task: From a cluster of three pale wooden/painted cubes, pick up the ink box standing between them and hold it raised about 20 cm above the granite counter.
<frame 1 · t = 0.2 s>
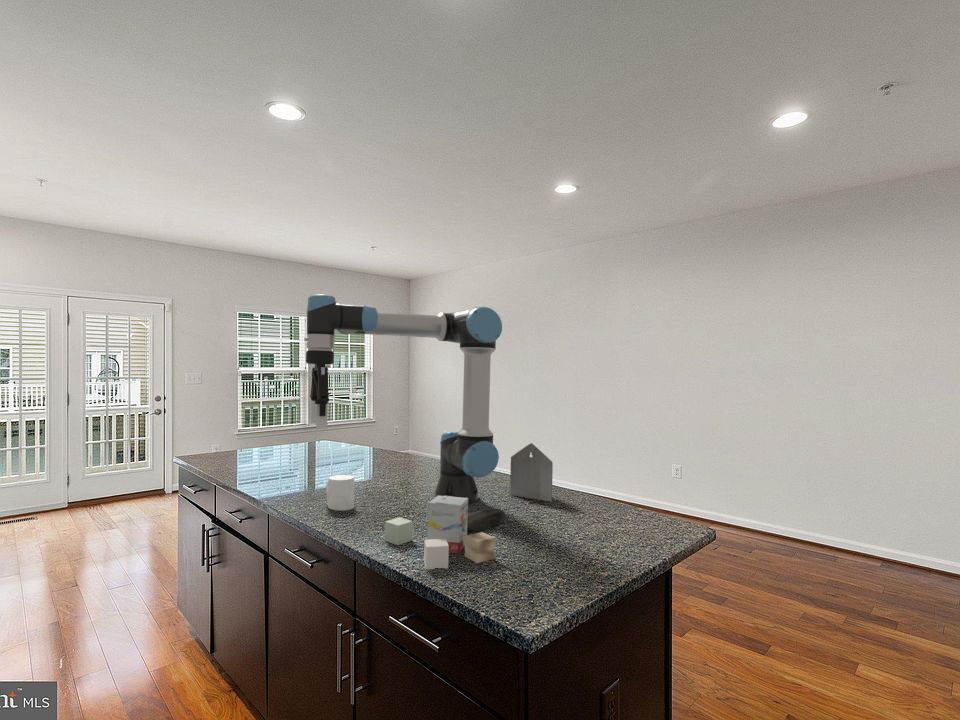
hand: (318, 425, 142), 28 cm above the worktop, fingers open, 13 cm apart
decorative stone: (480, 527, 145), on the worktop
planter: (535, 497, 180), on the worktop
ink box: (447, 547, 127), on the worktop
sage cube: (398, 540, 131), on the worktop
off-white cube: (435, 564, 115), on the worktop
maple cube: (479, 558, 120), on the worktop
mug: (338, 506, 162), on the worktop
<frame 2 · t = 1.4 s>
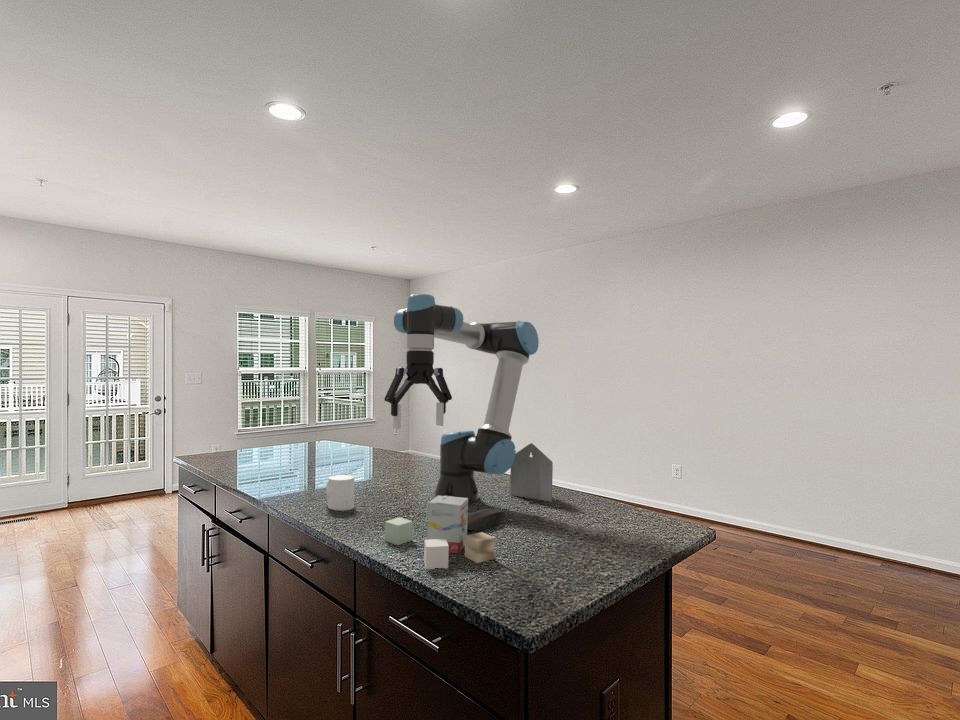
hand: (418, 426, 141), 28 cm above the worktop, fingers open, 13 cm apart
nothing on the worktop moved.
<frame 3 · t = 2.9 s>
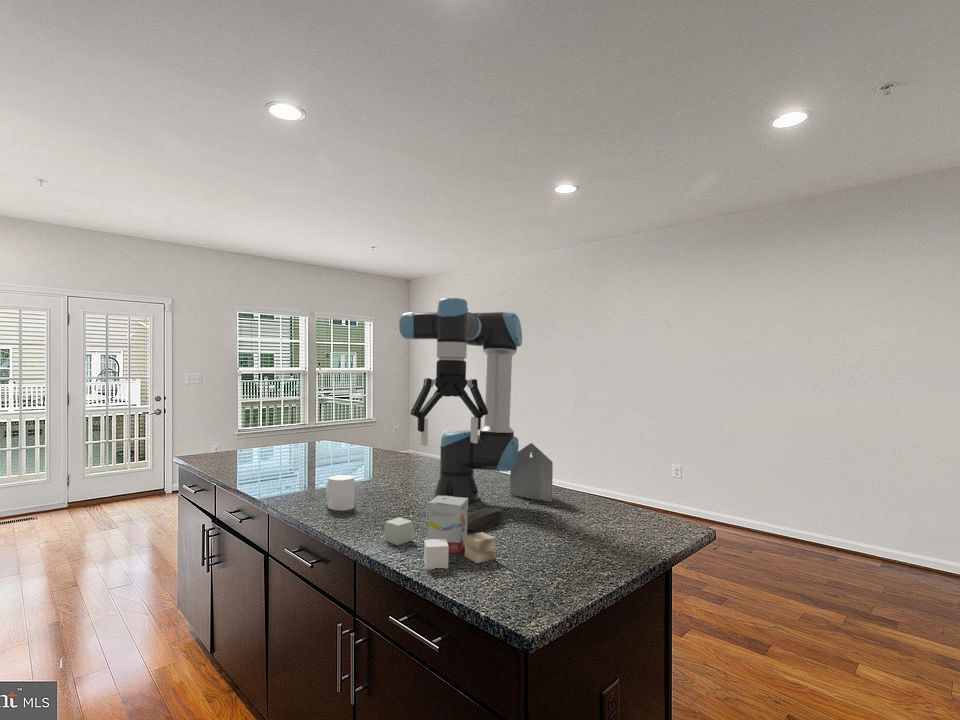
hand: (449, 444, 128), 26 cm above the worktop, fingers open, 13 cm apart
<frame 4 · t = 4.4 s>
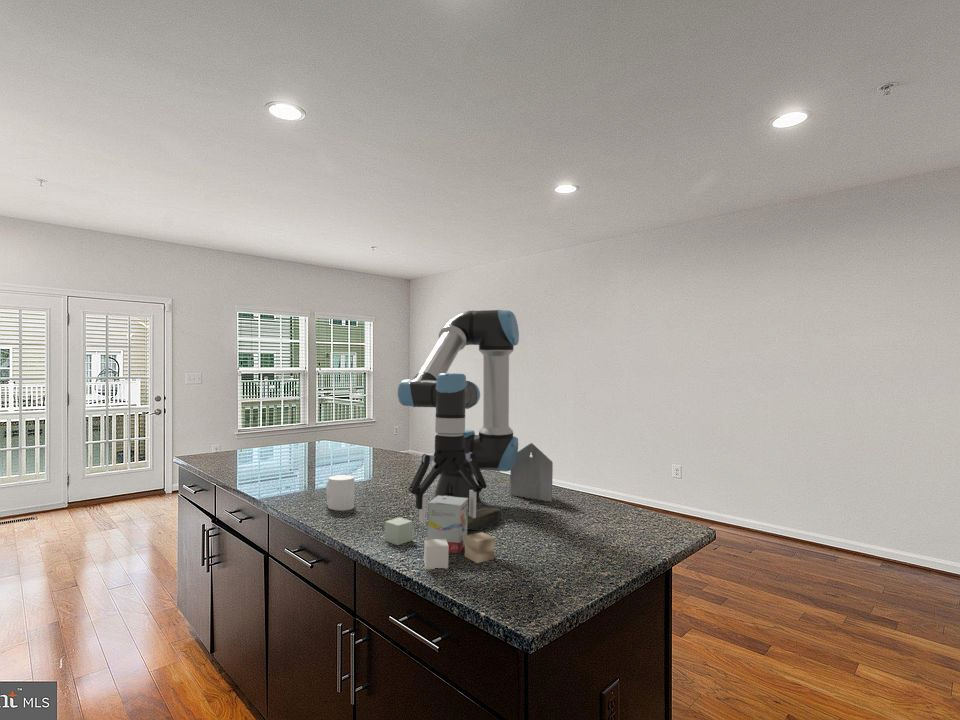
hand: (447, 519, 127), 7 cm above the worktop, fingers open, 13 cm apart
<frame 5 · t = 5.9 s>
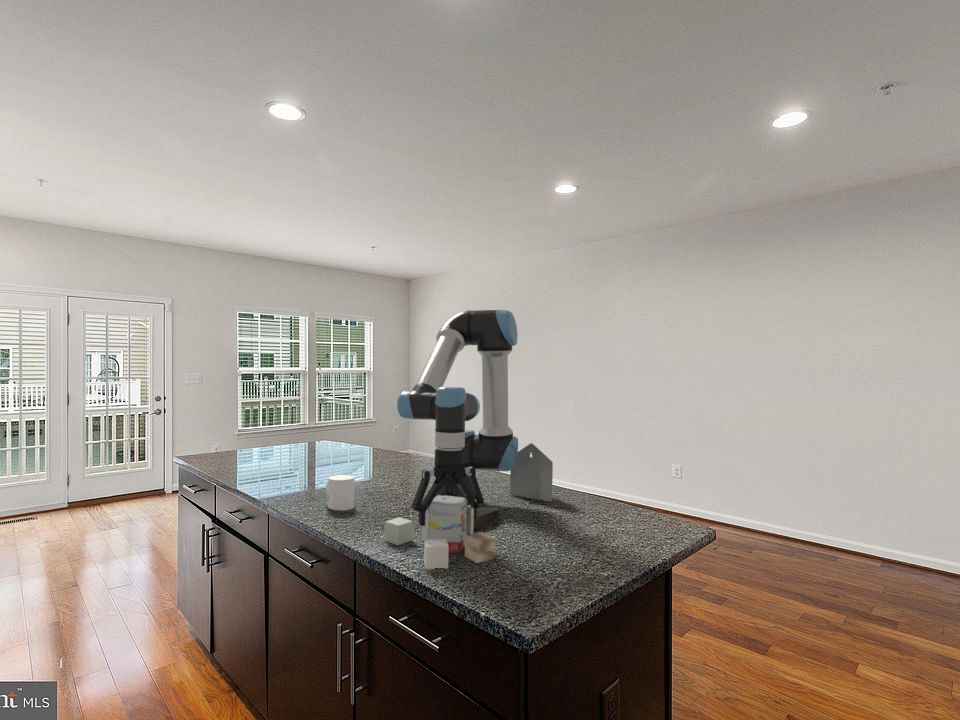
hand: (447, 535, 127), 3 cm above the worktop, fingers closed on ink box, 11 cm apart
ink box: (447, 547, 127), on the worktop, touching gripper
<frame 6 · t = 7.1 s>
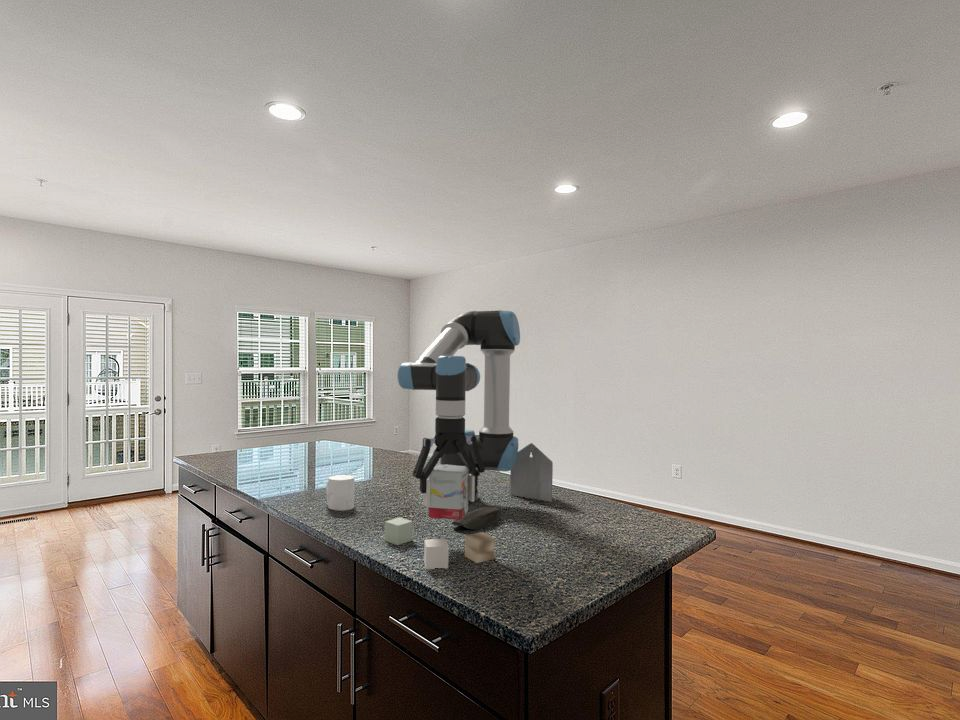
hand: (449, 503, 128), 11 cm above the worktop, fingers closed on ink box, 11 cm apart
ink box: (449, 514, 128), point 8 cm above the worktop, touching gripper
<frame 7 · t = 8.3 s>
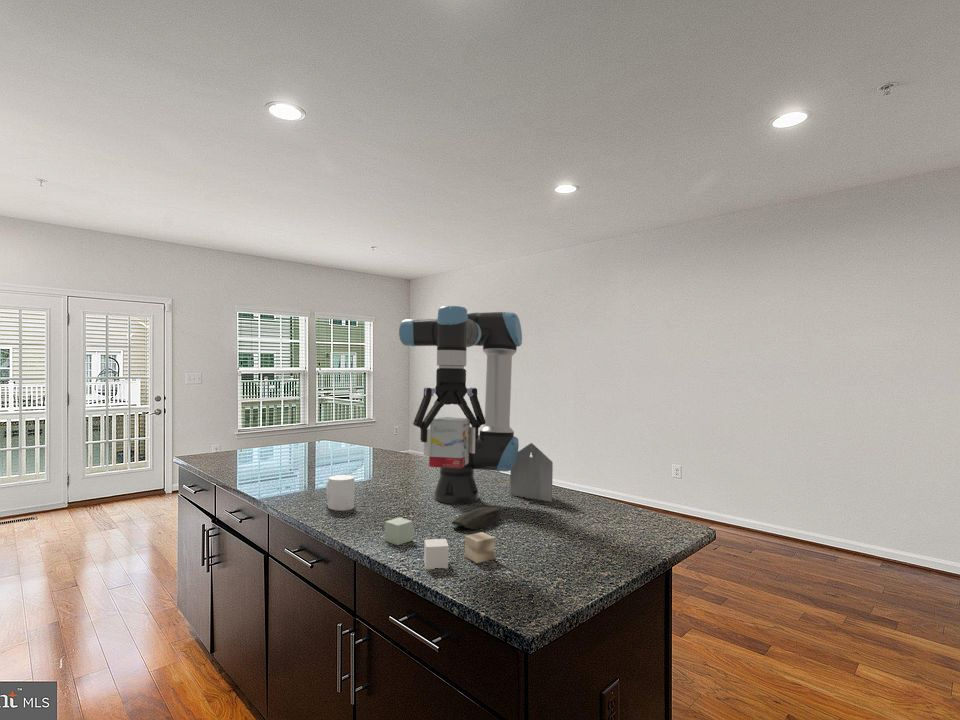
hand: (449, 454, 128), 23 cm above the worktop, fingers closed on ink box, 11 cm apart
ink box: (449, 465, 128), point 20 cm above the worktop, touching gripper
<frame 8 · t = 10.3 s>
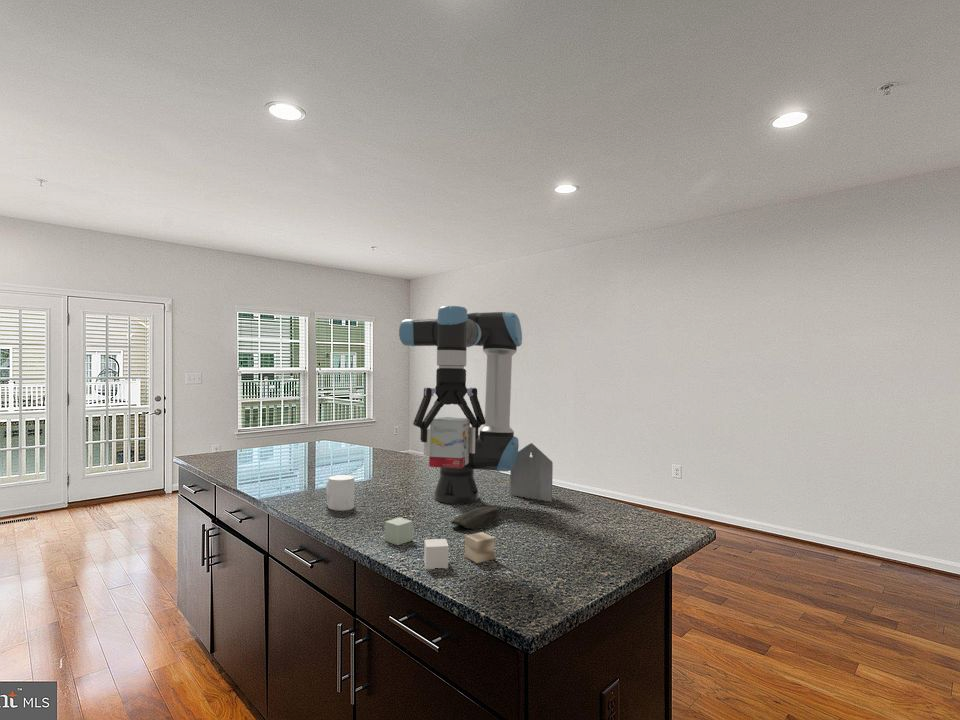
hand: (449, 454, 128), 23 cm above the worktop, fingers closed on ink box, 11 cm apart
ink box: (449, 465, 128), point 20 cm above the worktop, touching gripper
at the end: the gripper is holding ink box; ink box point 20.1 cm above the worktop; sage cube moved 0.1 cm from its start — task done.
